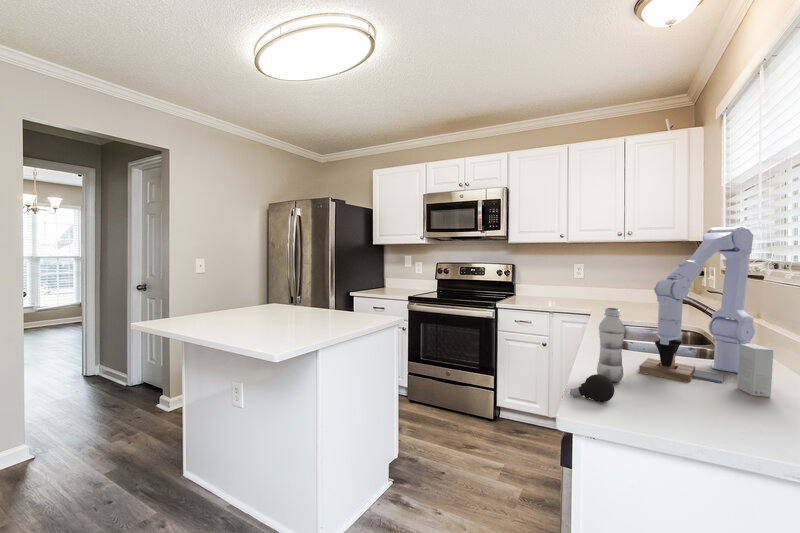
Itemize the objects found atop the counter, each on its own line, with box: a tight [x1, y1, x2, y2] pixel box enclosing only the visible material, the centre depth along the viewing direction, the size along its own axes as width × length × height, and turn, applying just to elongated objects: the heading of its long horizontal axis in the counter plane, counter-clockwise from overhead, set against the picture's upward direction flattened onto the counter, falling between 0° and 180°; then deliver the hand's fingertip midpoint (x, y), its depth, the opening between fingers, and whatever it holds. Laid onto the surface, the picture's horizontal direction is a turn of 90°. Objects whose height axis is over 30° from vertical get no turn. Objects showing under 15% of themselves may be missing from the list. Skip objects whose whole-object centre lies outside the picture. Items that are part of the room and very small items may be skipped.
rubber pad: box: [692, 368, 725, 384], centre depth 111 cm, size 8×7×1 cm
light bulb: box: [569, 373, 616, 403], centre depth 92 cm, size 6×6×10 cm
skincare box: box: [736, 343, 774, 398], centre depth 99 cm, size 6×4×12 cm
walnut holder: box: [638, 357, 696, 383], centre depth 115 cm, size 12×12×2 cm
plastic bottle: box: [596, 307, 626, 383], centre depth 106 cm, size 6×7×20 cm
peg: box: [659, 353, 676, 369], centre depth 114 cm, size 4×4×6 cm
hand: (667, 364), depth 114 cm, fingers closed on peg, 4 cm apart
